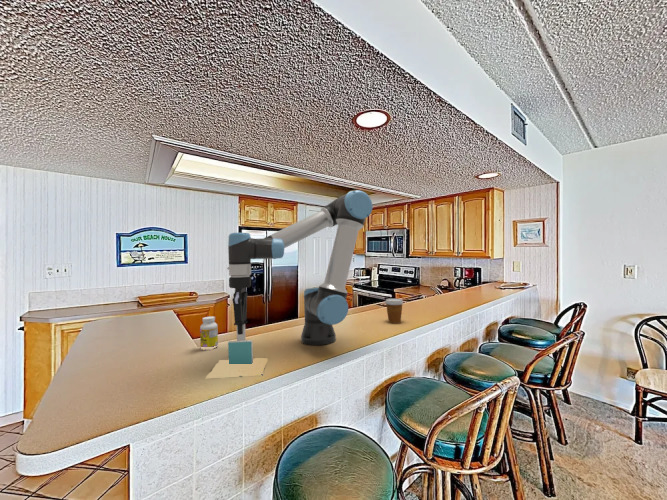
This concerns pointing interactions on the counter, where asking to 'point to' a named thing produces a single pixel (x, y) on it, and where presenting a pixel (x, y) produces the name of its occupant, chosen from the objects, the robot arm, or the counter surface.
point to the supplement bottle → (209, 332)
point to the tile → (240, 352)
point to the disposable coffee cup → (394, 310)
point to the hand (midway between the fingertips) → (241, 342)
